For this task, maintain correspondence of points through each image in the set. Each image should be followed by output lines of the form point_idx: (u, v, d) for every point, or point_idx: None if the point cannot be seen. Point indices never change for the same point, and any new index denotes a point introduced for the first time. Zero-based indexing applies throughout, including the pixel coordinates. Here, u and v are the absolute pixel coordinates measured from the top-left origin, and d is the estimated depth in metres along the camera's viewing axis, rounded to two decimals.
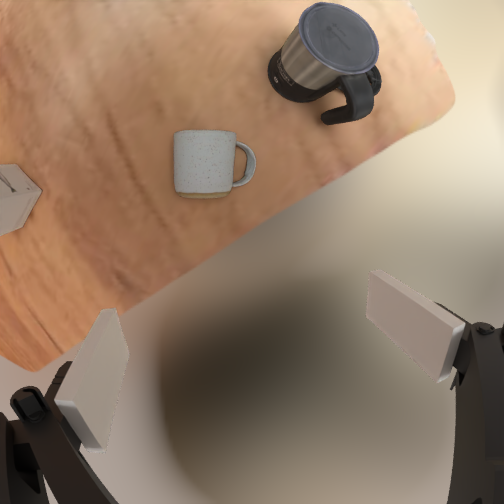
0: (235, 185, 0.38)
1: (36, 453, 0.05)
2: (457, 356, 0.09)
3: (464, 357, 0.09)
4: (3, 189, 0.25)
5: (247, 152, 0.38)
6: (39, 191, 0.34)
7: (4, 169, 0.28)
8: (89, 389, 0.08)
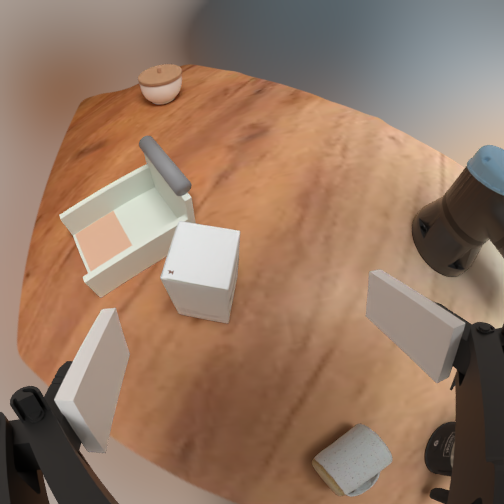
0: None
1: (36, 453, 0.05)
2: (457, 356, 0.09)
3: (464, 357, 0.09)
4: (231, 289, 0.32)
5: (372, 477, 0.29)
6: (227, 321, 0.39)
7: None
8: (89, 389, 0.08)
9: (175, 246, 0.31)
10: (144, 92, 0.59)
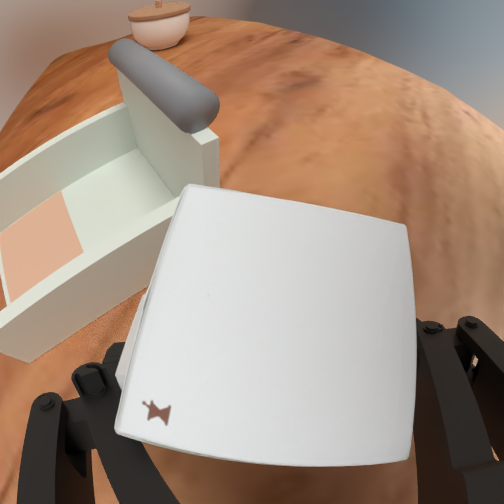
0: None
1: (92, 428, 0.06)
2: None
3: None
4: None
5: None
6: None
7: None
8: None
9: (170, 286, 0.07)
10: (135, 31, 0.35)
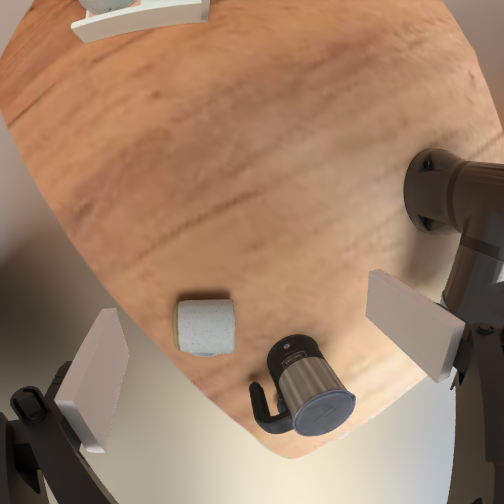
0: None
1: (36, 453, 0.05)
2: (457, 356, 0.09)
3: (464, 357, 0.09)
4: None
5: None
6: None
7: None
8: (89, 389, 0.08)
9: None
10: None
